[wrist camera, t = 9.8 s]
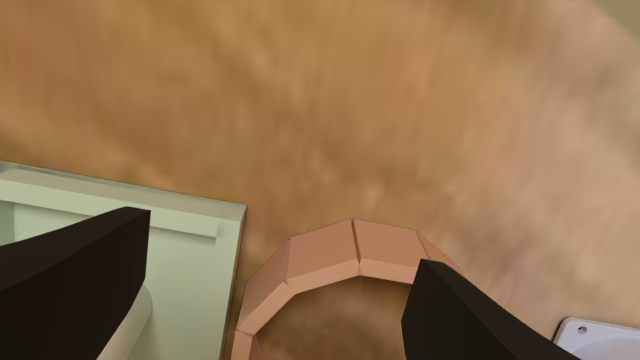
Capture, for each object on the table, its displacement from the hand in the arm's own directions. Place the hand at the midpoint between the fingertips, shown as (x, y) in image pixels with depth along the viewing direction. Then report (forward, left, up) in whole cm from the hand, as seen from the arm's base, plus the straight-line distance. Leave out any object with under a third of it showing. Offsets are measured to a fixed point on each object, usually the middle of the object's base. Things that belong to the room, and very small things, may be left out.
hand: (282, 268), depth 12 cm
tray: (+8, +10, -10) cm, 16 cm away
